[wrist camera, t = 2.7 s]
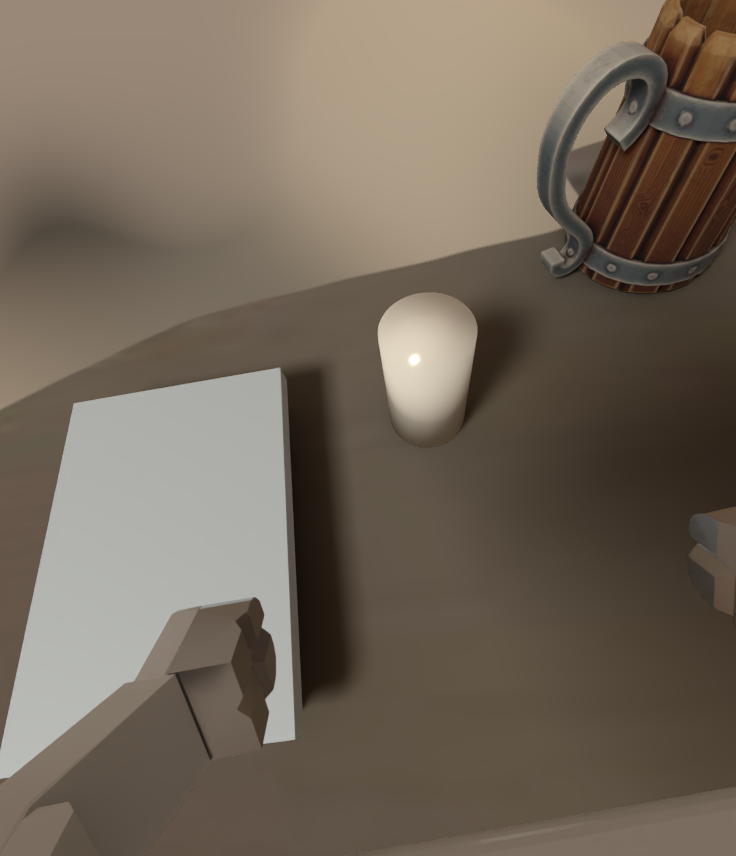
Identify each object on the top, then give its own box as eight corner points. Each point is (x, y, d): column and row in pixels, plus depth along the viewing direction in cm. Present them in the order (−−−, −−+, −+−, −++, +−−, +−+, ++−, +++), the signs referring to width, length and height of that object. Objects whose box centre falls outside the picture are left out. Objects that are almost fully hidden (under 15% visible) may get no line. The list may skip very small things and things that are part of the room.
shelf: (315, 725, 23) (295, 739, 19) (58, 760, 24) (-6, 779, 20) (296, 398, 32) (280, 367, 29) (112, 430, 33) (73, 403, 29)
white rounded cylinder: (471, 440, 29) (488, 361, 21) (396, 453, 29) (384, 379, 21) (455, 377, 31) (465, 285, 23) (385, 389, 32) (371, 302, 24)
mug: (649, 187, 38) (771, -67, 24) (740, 268, 33) (956, 7, 19) (481, 250, 37) (512, 21, 23) (549, 343, 32) (638, 122, 18)
